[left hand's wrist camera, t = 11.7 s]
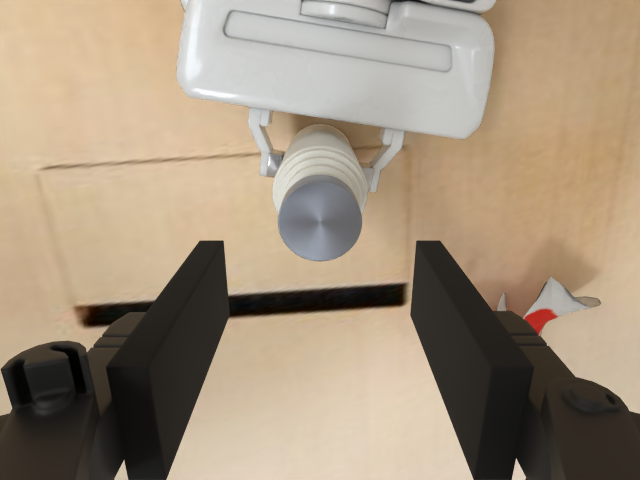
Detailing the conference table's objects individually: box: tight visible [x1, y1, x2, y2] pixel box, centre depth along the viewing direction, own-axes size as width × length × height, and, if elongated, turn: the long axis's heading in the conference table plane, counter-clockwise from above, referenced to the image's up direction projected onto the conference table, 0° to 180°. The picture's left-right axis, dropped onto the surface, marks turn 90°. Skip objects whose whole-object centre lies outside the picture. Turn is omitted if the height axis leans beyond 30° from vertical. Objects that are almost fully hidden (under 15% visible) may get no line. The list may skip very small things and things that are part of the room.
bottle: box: [272, 124, 368, 215], centre depth 29 cm, size 6×6×18 cm
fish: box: [497, 277, 601, 336], centre depth 38 cm, size 11×16×10 cm
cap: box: [278, 174, 362, 261], centre depth 21 cm, size 4×4×2 cm
